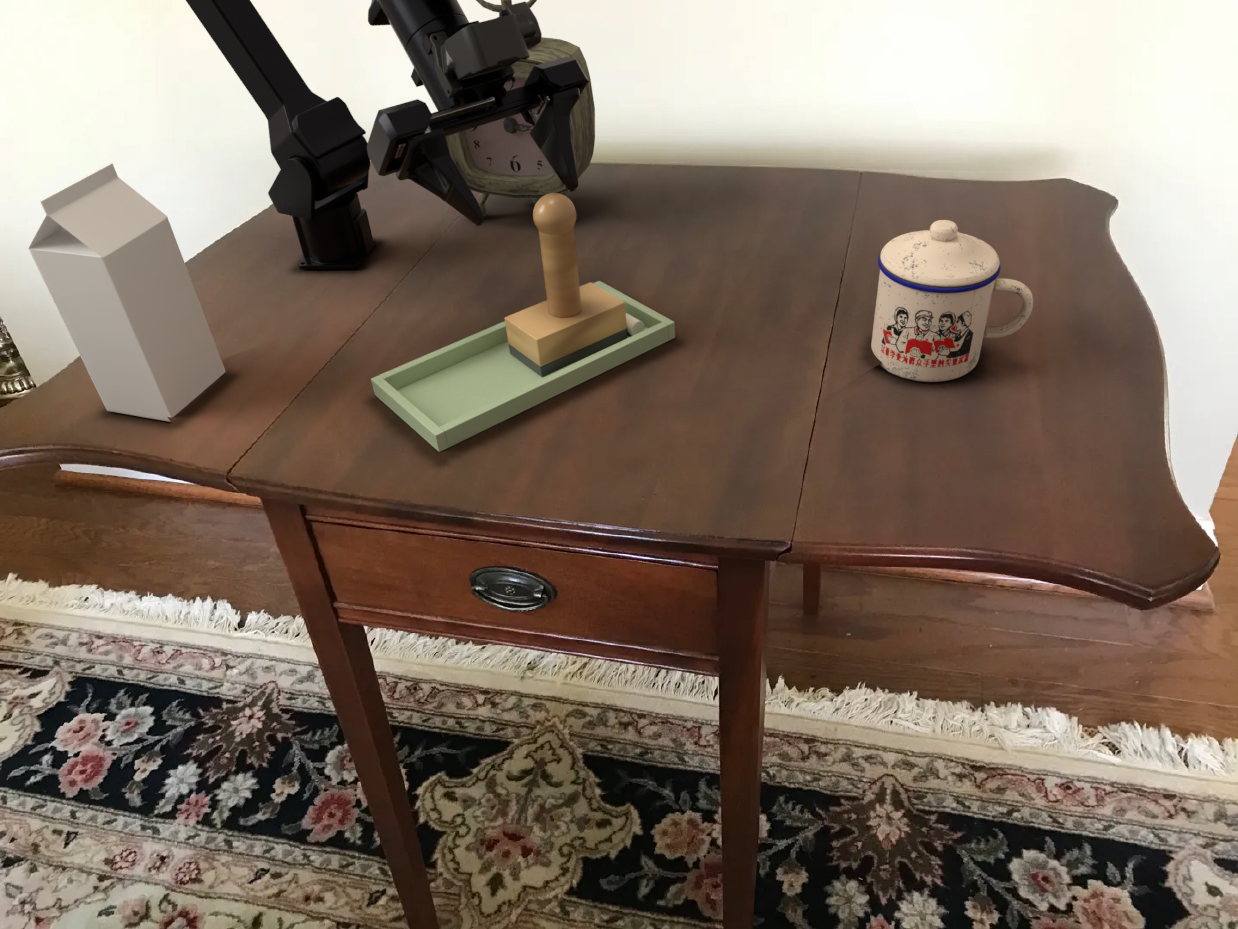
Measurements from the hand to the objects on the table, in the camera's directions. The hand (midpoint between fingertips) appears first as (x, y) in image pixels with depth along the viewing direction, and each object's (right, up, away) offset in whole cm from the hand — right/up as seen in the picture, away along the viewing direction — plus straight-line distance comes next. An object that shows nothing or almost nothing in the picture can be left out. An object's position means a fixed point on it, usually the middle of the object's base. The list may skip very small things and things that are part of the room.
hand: (529, 205), depth 78 cm
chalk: (+6, -8, +6) cm, 12 cm away
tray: (0, -13, +3) cm, 14 cm away
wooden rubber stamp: (+3, -11, +5) cm, 12 cm away
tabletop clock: (-2, +7, +30) cm, 31 cm away
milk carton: (-31, -15, +4) cm, 35 cm away
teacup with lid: (+34, -12, +1) cm, 36 cm away
